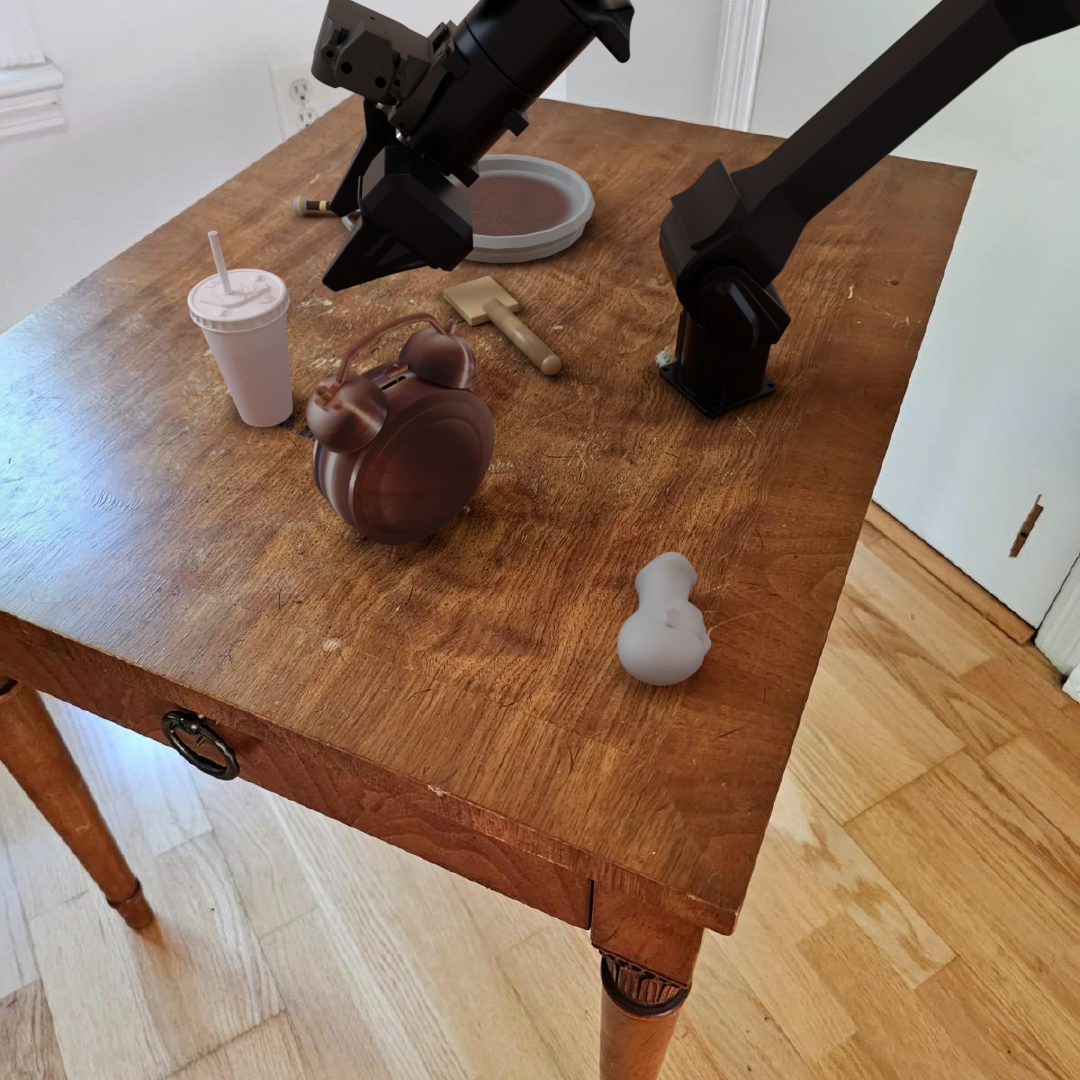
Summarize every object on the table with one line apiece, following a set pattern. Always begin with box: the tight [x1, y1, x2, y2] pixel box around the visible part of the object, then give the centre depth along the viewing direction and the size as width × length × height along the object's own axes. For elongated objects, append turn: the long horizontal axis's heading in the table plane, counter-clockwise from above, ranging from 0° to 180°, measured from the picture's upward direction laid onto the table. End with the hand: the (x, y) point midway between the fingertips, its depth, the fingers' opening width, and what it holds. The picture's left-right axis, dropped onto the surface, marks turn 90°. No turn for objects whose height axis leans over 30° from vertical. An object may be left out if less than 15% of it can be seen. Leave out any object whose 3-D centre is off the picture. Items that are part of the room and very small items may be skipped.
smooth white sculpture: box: [616, 551, 712, 687], centre depth 53 cm, size 4×8×5 cm
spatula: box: [442, 275, 562, 376], centre depth 76 cm, size 14×4×2 cm, turn 31°
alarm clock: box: [305, 312, 496, 559], centre depth 56 cm, size 11×5×15 cm, turn 133°
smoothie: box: [187, 230, 294, 428], centre depth 64 cm, size 6×6×14 cm
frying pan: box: [292, 153, 596, 264], centre depth 88 cm, size 17×3×28 cm
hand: (331, 247), depth 61 cm, fingers open, 9 cm apart
